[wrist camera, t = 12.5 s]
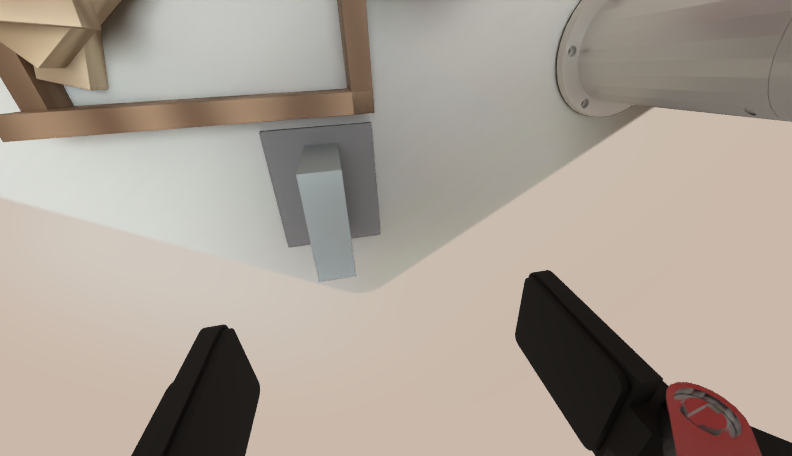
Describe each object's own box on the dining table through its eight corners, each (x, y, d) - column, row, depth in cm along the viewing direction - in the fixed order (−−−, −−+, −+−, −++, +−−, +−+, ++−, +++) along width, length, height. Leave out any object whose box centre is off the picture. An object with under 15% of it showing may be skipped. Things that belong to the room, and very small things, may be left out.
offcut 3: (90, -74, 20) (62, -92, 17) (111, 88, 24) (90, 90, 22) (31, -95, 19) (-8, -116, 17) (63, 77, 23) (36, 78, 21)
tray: (345, -131, 20) (351, -185, 16) (366, 106, 28) (374, 112, 23) (-96, -153, 17) (-245, -232, 12) (62, 129, 24) (3, 141, 20)
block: (337, 142, 28) (341, 169, 20) (348, 226, 32) (356, 276, 25) (304, 145, 28) (296, 174, 20) (320, 230, 32) (319, 282, 24)
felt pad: (370, 122, 28) (371, 123, 28) (379, 231, 34) (380, 234, 34) (260, 131, 27) (258, 132, 26) (289, 244, 33) (288, 247, 32)
